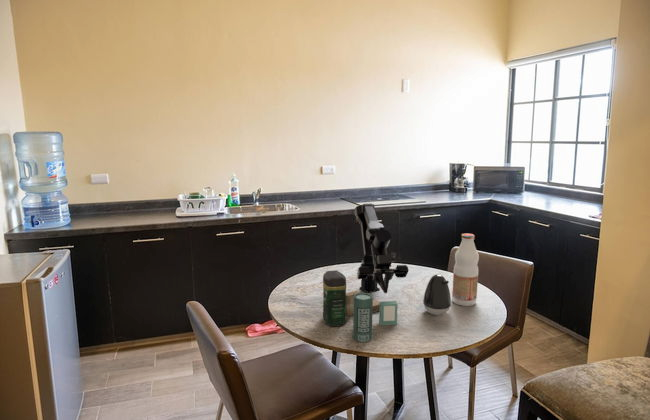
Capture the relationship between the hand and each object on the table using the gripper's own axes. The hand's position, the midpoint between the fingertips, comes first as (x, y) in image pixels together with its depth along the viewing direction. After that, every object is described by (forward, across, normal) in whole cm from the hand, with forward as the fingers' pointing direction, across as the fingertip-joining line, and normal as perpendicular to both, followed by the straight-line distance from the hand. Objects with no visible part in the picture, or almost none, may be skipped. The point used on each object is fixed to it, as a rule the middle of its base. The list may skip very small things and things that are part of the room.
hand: (385, 292), depth 164 cm
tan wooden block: (+3, -12, +11) cm, 17 cm away
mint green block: (+10, 0, +4) cm, 11 cm away
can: (+17, -11, -3) cm, 21 cm away
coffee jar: (+8, -19, +7) cm, 22 cm away
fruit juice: (-1, +35, +15) cm, 38 cm away
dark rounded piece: (+5, +21, +9) cm, 23 cm away
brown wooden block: (-4, -6, +16) cm, 17 cm away
